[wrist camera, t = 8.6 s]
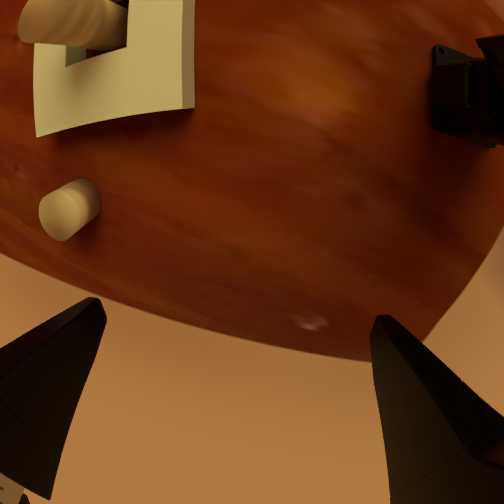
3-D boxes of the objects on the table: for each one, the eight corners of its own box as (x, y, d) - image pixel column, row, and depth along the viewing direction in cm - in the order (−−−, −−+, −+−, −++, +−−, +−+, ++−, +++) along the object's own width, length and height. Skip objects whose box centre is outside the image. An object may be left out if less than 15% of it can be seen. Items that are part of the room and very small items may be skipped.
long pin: (136, 45, 14) (61, 26, 7) (94, 57, 14) (15, 52, 7) (138, 3, 12) (70, -30, 5) (96, 17, 13) (22, -1, 6)
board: (198, -60, 9) (189, -75, 7) (194, 107, 16) (182, 108, 14) (62, -14, 10) (44, -19, 8) (56, 131, 17) (36, 137, 15)
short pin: (97, 175, 19) (66, 192, 15) (105, 218, 21) (78, 241, 17) (65, 179, 19) (34, 196, 16) (73, 219, 21) (46, 240, 17)
